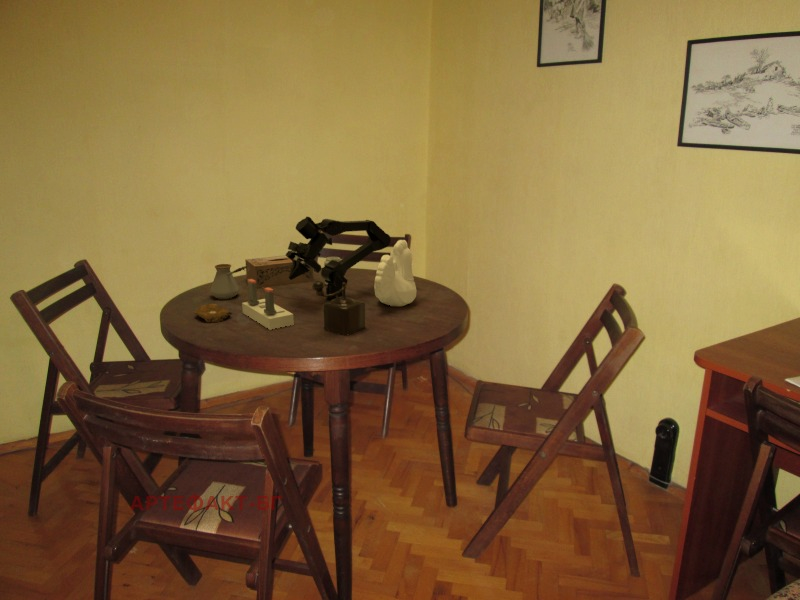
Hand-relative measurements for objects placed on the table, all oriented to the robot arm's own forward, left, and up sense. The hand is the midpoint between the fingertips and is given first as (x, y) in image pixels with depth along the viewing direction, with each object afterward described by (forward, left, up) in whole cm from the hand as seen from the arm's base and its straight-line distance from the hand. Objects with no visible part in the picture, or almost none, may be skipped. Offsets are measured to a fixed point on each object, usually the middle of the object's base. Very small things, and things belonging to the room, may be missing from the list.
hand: (289, 279), depth 228 cm
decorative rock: (+24, +17, -12) cm, 31 cm away
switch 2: (-1, +20, -7) cm, 22 cm away
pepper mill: (-26, +20, -12) cm, 34 cm away
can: (-5, -35, -12) cm, 38 cm away
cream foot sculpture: (-36, -12, -12) cm, 40 cm away
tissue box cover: (+20, -35, -12) cm, 42 cm away
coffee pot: (+27, -5, -12) cm, 30 cm away
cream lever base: (+3, +14, -11) cm, 19 cm away
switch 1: (+10, +12, -7) cm, 17 cm away
